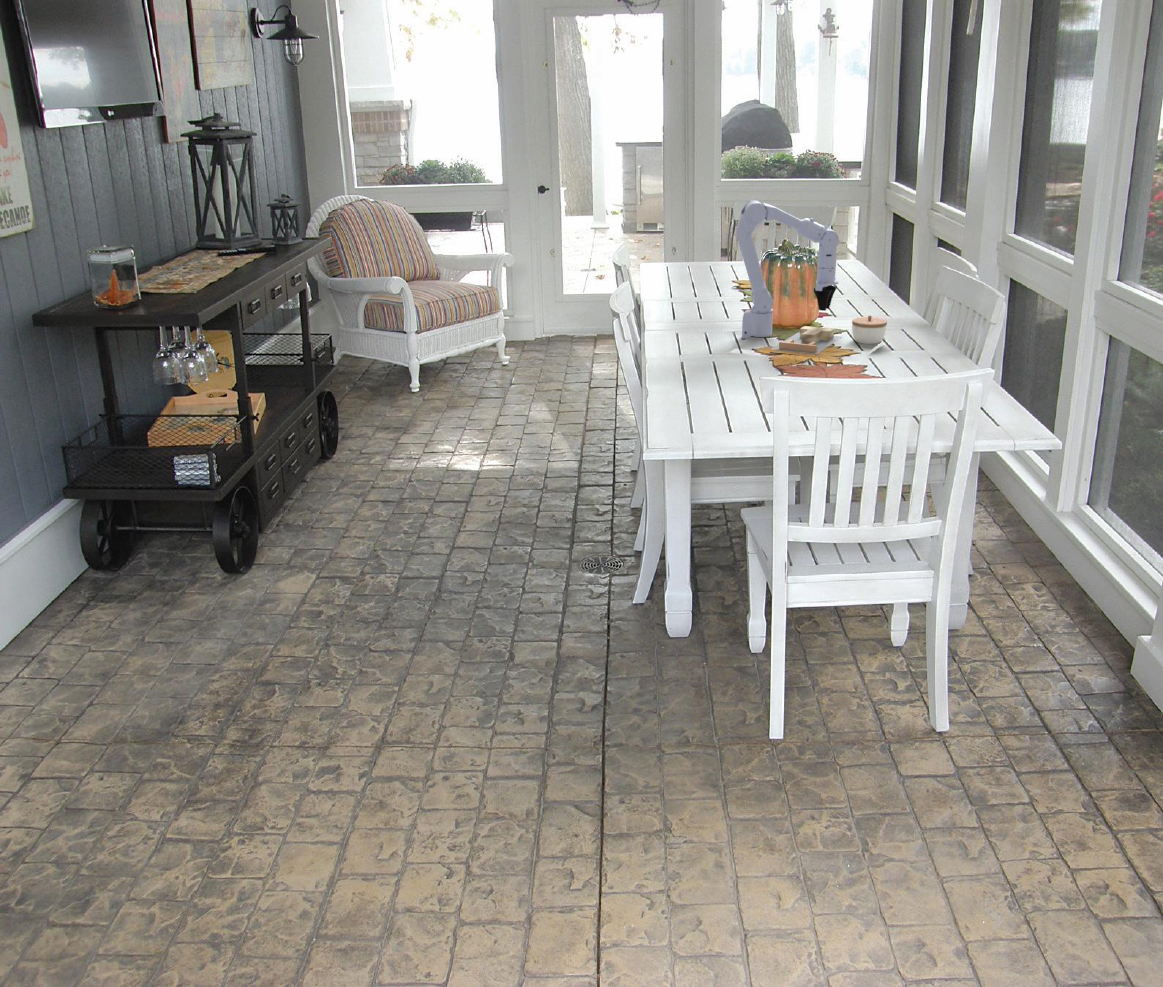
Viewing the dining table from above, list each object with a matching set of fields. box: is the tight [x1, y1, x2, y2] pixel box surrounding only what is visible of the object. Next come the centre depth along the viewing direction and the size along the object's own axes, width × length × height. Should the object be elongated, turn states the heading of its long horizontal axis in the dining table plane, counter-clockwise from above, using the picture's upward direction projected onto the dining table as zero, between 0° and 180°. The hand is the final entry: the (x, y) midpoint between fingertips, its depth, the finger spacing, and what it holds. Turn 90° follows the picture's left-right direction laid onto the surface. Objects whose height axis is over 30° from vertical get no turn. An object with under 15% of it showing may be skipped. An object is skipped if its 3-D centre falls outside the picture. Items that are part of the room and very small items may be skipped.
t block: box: [799, 325, 835, 344], centre depth 356 cm, size 10×11×3 cm
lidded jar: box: [851, 314, 888, 347], centre depth 354 cm, size 11×11×9 cm
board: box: [769, 331, 843, 356], centre depth 353 cm, size 15×26×3 cm, turn 150°
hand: (824, 309), depth 362 cm, fingers open, 3 cm apart
